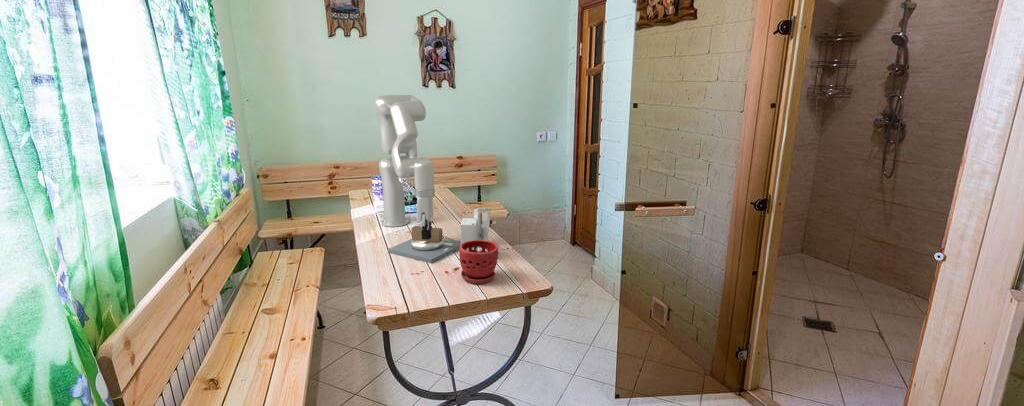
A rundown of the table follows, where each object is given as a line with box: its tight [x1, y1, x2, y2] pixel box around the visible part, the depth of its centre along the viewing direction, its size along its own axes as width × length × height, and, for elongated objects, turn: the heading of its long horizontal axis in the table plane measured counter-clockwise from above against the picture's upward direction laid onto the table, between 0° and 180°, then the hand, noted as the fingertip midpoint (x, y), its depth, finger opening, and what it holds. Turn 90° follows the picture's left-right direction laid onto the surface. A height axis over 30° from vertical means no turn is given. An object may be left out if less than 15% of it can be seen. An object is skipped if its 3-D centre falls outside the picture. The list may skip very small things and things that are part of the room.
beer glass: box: [472, 207, 491, 241], centre depth 192 cm, size 7×7×15 cm
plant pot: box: [458, 240, 499, 284], centre depth 160 cm, size 13×13×12 cm
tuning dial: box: [411, 225, 453, 251], centre depth 187 cm, size 18×13×7 cm
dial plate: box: [387, 237, 461, 264], centre depth 189 cm, size 22×22×2 cm
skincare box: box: [460, 217, 479, 260], centre depth 178 cm, size 8×6×15 cm
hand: (427, 236), depth 188 cm, fingers closed on tuning dial, 4 cm apart
